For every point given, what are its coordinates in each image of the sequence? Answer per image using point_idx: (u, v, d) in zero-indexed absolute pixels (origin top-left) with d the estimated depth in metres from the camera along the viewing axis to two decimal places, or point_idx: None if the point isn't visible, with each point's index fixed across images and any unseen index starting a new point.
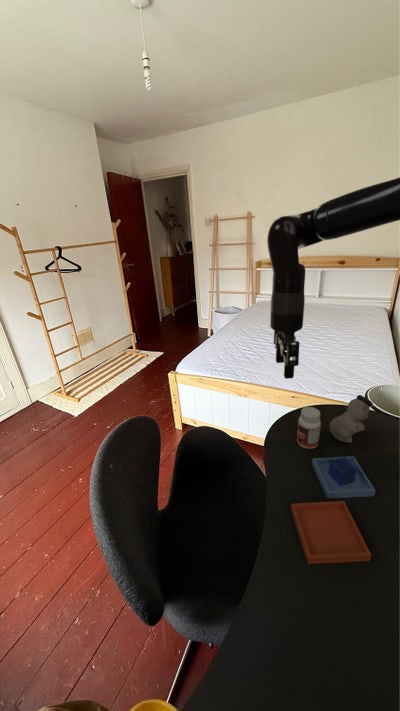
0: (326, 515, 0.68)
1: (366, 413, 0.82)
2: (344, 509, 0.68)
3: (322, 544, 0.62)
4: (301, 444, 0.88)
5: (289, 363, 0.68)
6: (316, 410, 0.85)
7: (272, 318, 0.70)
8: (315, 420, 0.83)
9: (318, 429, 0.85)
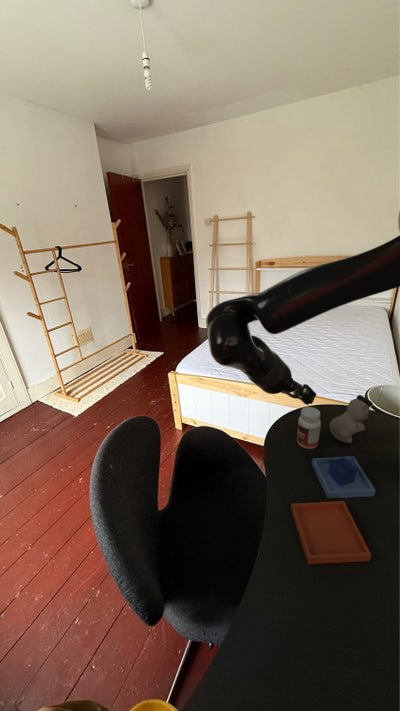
0: (326, 515, 0.68)
1: (366, 413, 0.82)
2: (344, 509, 0.68)
3: (322, 544, 0.62)
4: (301, 444, 0.88)
5: (312, 401, 0.64)
6: (316, 410, 0.85)
7: (266, 390, 0.61)
8: (315, 420, 0.83)
9: (318, 429, 0.85)
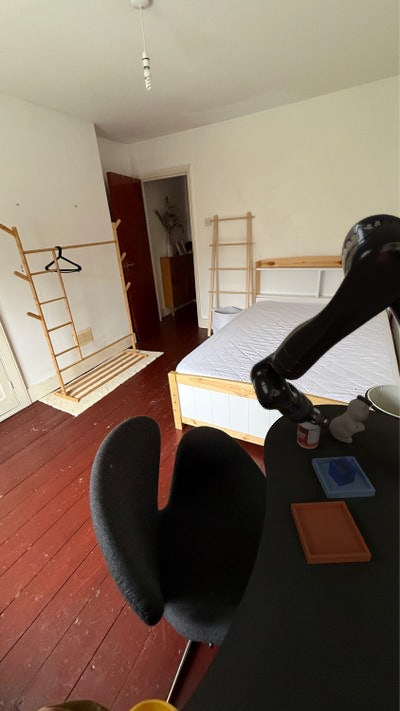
0: (326, 515, 0.68)
1: (366, 413, 0.82)
2: (344, 509, 0.68)
3: (322, 544, 0.62)
4: (301, 444, 0.88)
5: (327, 427, 0.79)
6: (316, 410, 0.85)
7: (294, 421, 0.75)
8: None
9: (318, 429, 0.85)
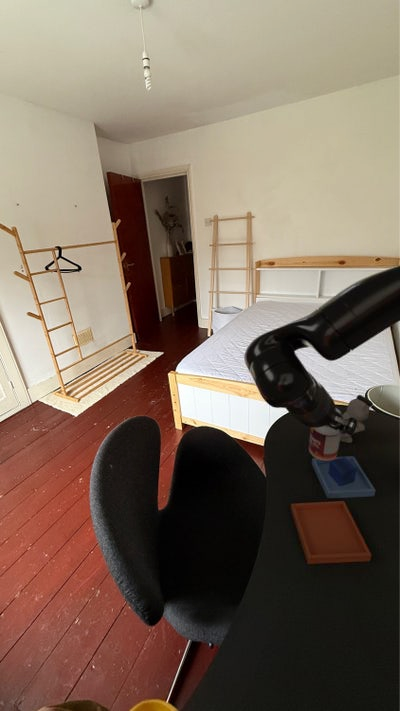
0: (326, 515, 0.68)
1: (366, 413, 0.82)
2: (344, 509, 0.68)
3: (322, 544, 0.62)
4: (315, 454, 0.66)
5: None
6: (336, 410, 0.64)
7: (308, 424, 0.54)
8: None
9: (339, 435, 0.64)
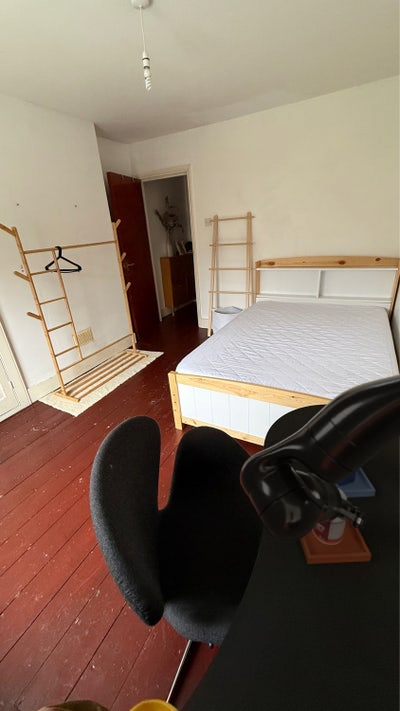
0: None
1: None
2: None
3: (322, 544, 0.62)
4: (318, 538, 0.62)
5: (365, 526, 0.53)
6: (341, 493, 0.60)
7: None
8: None
9: (344, 521, 0.59)
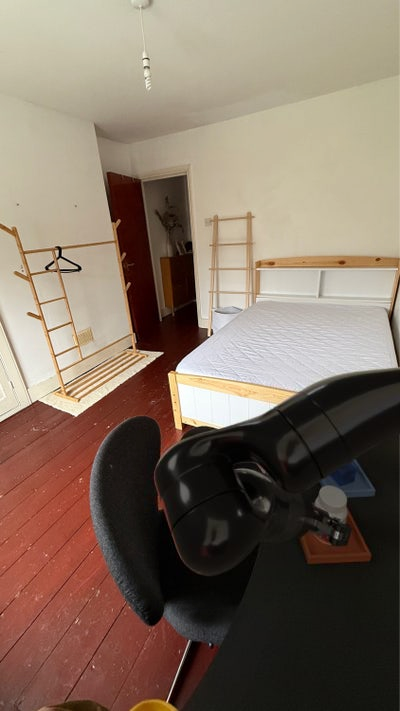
0: None
1: None
2: None
3: (322, 544, 0.62)
4: (318, 538, 0.62)
5: (346, 542, 0.41)
6: (340, 493, 0.60)
7: None
8: (340, 510, 0.57)
9: (344, 521, 0.59)
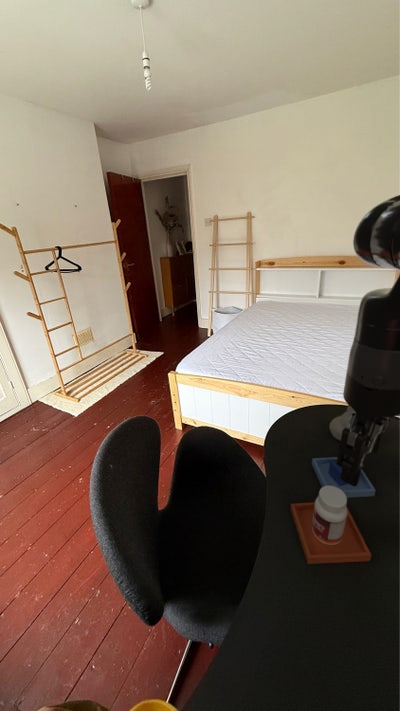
0: None
1: None
2: None
3: (322, 544, 0.62)
4: (318, 538, 0.62)
5: None
6: (340, 493, 0.60)
7: None
8: (340, 510, 0.57)
9: (344, 521, 0.59)
